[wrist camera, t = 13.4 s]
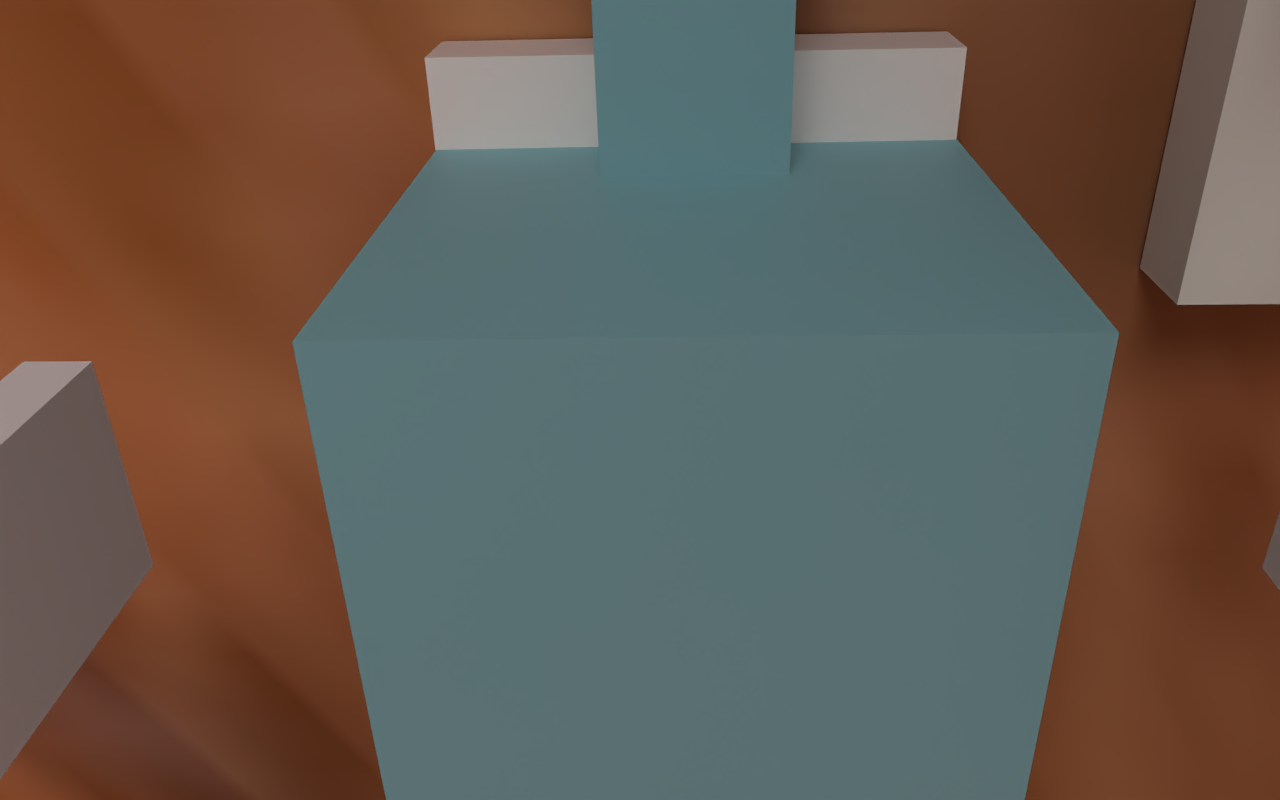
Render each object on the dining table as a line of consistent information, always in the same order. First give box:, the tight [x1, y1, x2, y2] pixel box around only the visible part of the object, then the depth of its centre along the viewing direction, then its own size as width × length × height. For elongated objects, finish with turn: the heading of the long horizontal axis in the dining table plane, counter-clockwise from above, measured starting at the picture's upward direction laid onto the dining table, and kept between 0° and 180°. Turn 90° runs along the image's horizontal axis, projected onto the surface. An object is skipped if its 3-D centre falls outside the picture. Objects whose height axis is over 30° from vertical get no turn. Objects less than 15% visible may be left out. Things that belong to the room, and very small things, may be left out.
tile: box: [425, 31, 967, 150], centre depth 14 cm, size 8×6×1 cm
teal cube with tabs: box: [292, 0, 1119, 800], centre depth 11 cm, size 6×19×5 cm, turn 2°
